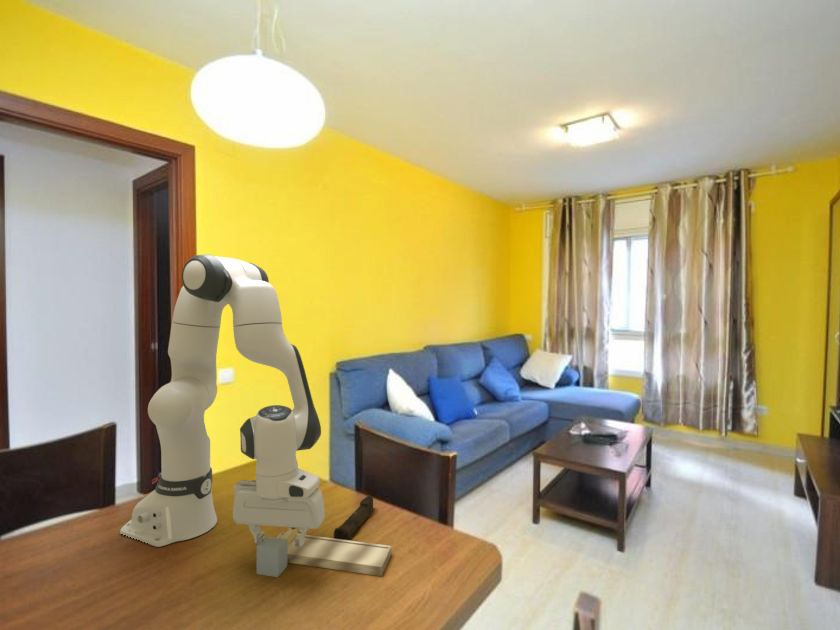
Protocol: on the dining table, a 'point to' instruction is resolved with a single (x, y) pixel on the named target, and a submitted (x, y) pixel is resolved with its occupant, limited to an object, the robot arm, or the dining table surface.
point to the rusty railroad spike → (355, 519)
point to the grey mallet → (274, 553)
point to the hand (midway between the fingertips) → (279, 543)
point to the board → (339, 554)
